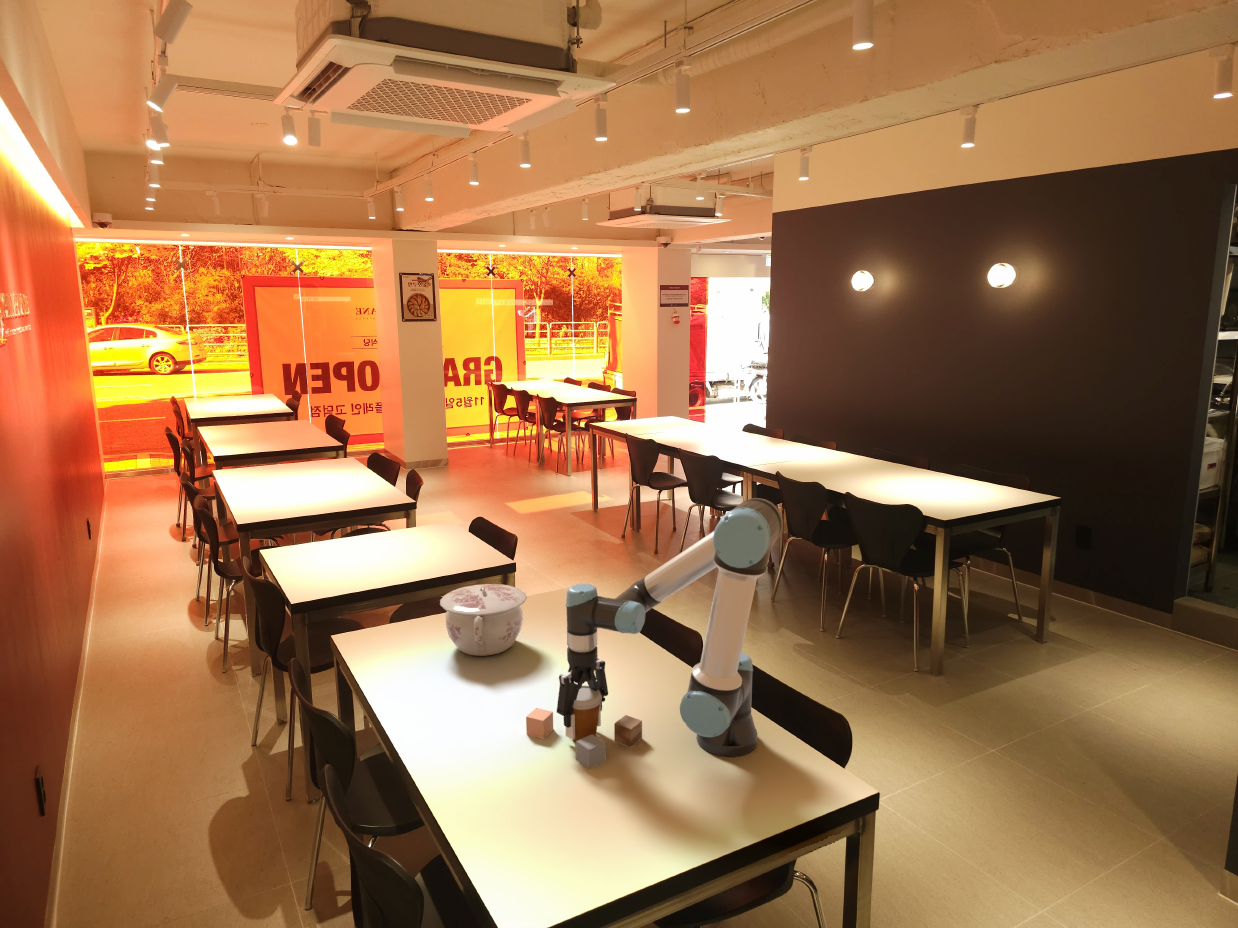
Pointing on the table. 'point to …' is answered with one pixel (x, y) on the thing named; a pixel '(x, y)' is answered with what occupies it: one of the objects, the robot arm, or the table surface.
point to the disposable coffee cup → (586, 712)
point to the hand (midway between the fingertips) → (583, 730)
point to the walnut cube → (628, 731)
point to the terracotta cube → (539, 723)
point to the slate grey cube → (590, 751)
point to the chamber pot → (484, 617)
